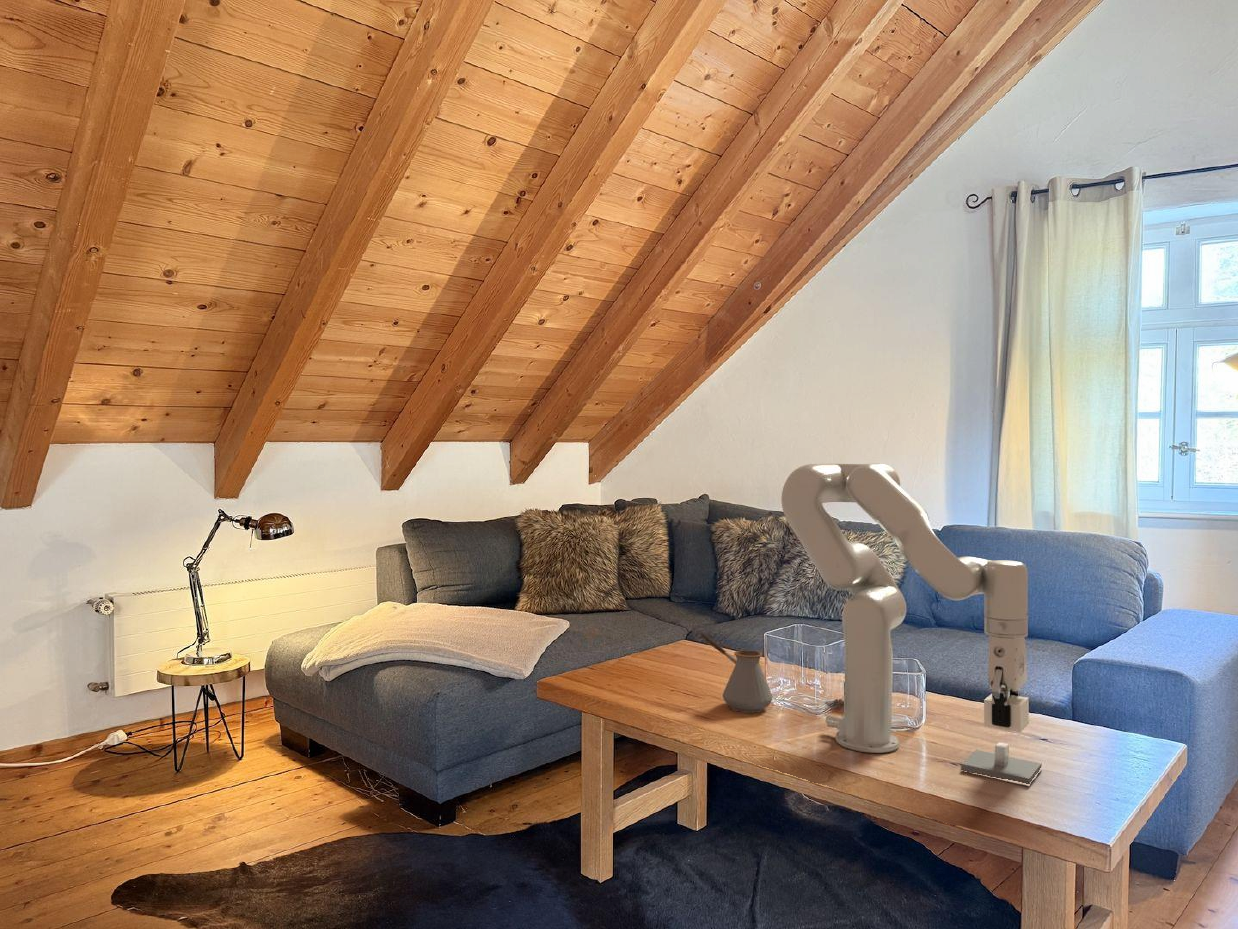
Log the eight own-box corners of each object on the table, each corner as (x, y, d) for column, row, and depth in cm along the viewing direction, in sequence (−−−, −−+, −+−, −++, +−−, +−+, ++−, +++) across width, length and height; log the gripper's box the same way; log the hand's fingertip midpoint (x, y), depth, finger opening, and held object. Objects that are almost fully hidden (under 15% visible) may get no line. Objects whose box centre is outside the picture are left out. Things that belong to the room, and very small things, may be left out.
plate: (960, 771, 170) (961, 763, 170) (975, 757, 178) (976, 749, 178) (1028, 787, 163) (1029, 778, 163) (1041, 771, 171) (1041, 763, 171)
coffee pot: (782, 709, 208) (783, 645, 208) (749, 719, 200) (750, 652, 200) (714, 689, 224) (715, 629, 224) (682, 697, 217) (683, 635, 216)
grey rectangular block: (994, 764, 169) (994, 746, 169) (998, 760, 172) (999, 742, 172) (1004, 766, 168) (1004, 748, 168) (1008, 762, 171) (1009, 744, 171)
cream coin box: (1020, 732, 165) (1020, 704, 165) (984, 726, 169) (984, 699, 169) (1028, 724, 170) (1028, 696, 170) (993, 718, 174) (993, 691, 174)
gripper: (1015, 636, 160) (1015, 736, 160) (1037, 621, 174) (1038, 714, 174) (972, 631, 165) (972, 729, 165) (997, 617, 179) (997, 707, 179)
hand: (1006, 720), depth 170 cm, fingers closed on cream coin box, 6 cm apart
